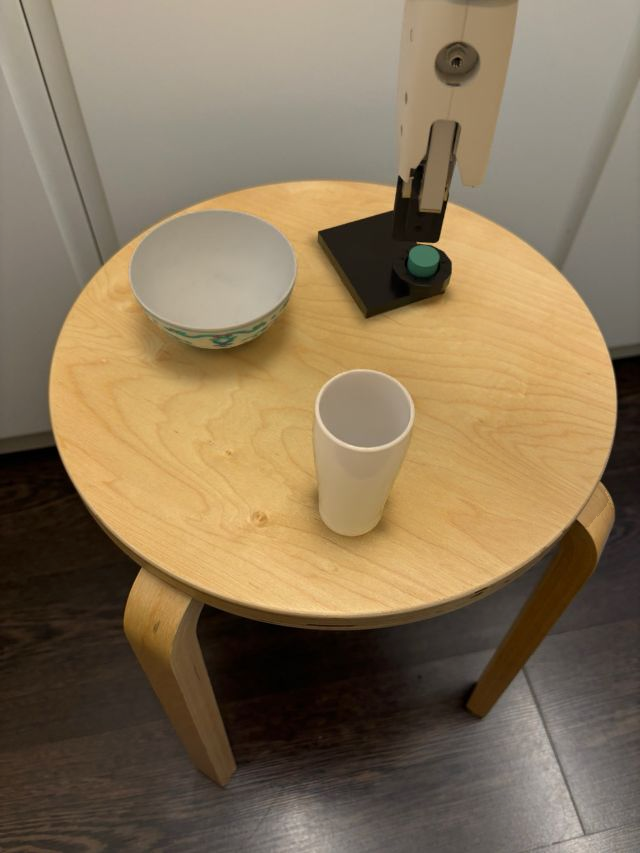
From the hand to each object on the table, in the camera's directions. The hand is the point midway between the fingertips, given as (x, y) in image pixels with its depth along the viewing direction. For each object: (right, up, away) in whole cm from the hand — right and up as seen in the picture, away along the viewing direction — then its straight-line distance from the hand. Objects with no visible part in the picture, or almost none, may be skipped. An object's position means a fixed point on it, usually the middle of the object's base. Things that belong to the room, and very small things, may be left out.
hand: (414, 233), depth 48 cm
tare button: (+4, +3, +23) cm, 24 cm away
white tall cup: (-4, -20, +11) cm, 23 cm away
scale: (0, +4, +27) cm, 27 cm away
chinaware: (-16, -3, +22) cm, 27 cm away
